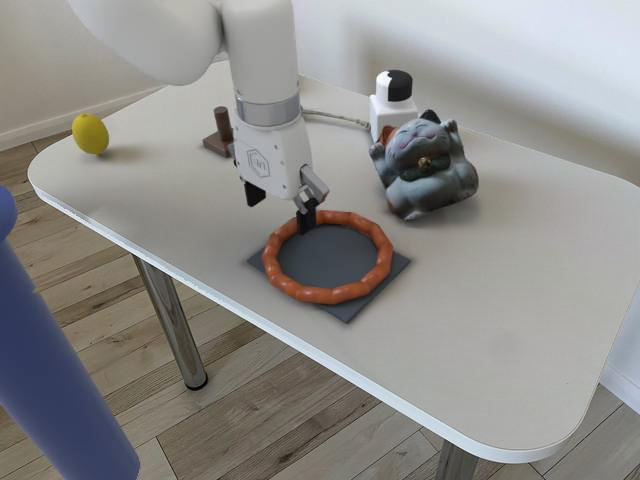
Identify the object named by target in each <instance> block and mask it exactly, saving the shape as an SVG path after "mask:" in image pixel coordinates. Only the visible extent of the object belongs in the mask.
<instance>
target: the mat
mask: <svg viewBox="0 0 640 480" xmlns="http://www.w3.org/2000/svg"><path fill="white" fill-rule="evenodd" d="M265 247H266V245H264V246H263V247H262V248H261V249H259V250H258V251H257V252H255V253H254V254H252V255H251V256H250V257H248V258H247V259H246V263H247V264H248V265H250V266H253V267H254V268H255V269H257V270H259V271H260V272H262V273H263V274H264V275H267V273H266V270H265V268H264V265H263V263H262V255H263V253H264V250H265ZM377 255H378V249H377V247H376V245H375V244H374V242H373V241H372V239H371V238H370V237H367V236H365V235H363V234H361V233H359V232H357V231H355V230H353V229H352V228H349V227H347V226H346V225H336V224H320V225H316V226H315V227H314V228H312V229H311V230H309V231H308V232H307V233H305V234H304V235H303V236H301V235H299V234H298V232H296V233H295V234H294V235H292V236H291V237H290V238H288V239H287V240H286V241H285V242H283V243H282V246H281V249H280V251H279V254H278V257H277V260H278V263H279V265H280V267H281V270H282V272H283V274H284V275H286V276H288V277H289V278H291V279H293V280H294V281H296V282H298V283H299V284H301V285H303V286H309V287H319V288H329V289H333V288H337V287H340V286H343V285H347V284H350V283H354V282H357V281H360V280H361V279H362V278H363V277H364V276H365V275H366V274H367V273H368V272H369V271H371V270H372V269H373V268H374V267H375V266H376V261H377ZM409 264H411V259H410V258H408V257H406V256H404V255H402V254H400V253H398V252H396V251H395V250H393V254H392V261H391V268H390V273H389V274H388V275H387V276H386V277H385V278H384V279H383V280H382V281H381V282H380V283H379V284H378V285H377V286H376V287H375V288H374V289H373V290H372V291H371V292H370V293H369V294H367V295H364V296H361V297H358V298H354V299H351V300H348V301H345V302H341V303H338V304H334V305H331V304H321V303H313V304H314V305H316V306H317V307H319V308H320V309H322V310H324V311H325V312H327V313H328V314H331V316H334V317H335V318H337V319H339V320H340V321H342V322H343V323H345V324H348V323H349V322H350V321H351V320H352V319H353V318H355V317H356V316H357V315H358V314H359V313H360V312H361V310H363V309H364V308H365V307H366V306H367V305H368V304H369V303H370V302H371V301H372V300H373V299H374V298H375V297H376V296H378V294H379V293H380V292H382V291H383V289H385V288H386V287H387V285H388V284H389V283H391V282H392V280H394V278H396V277H397V276H398V275H399V274H400V273H401V272H402V271H403V270H404V269H405V268H406V267H407V266H408V265H409Z"/></svg>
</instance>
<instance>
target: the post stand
mask: <svg viewBox="0 0 640 480" xmlns="http://www.w3.org/2000/svg"><path fill="white" fill-rule="evenodd" d="M213 115H214V120H215V124H216V129H217V131H215V132H213V133H212V134H209V135H208V136H206V137H204V138H202V140H201V141H202V145H203V147H204V148H205V149H208V150H209V151H212V152H213V153H215V154H217V155H219V156H222V158H223V157H224V158H226V159H227V158H229V157H230V156H231V154H230V152H229V150H228V147H227V146H228V145H229V144H231V143H233V142H234V135H233V126H232V125H231V119H230V113H229V108H228V107H227V106H224V105H222V106H221V105H219V106H217V107H216V106H215V108H213ZM231 157H232V156H231Z"/></svg>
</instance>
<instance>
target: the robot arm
mask: <svg viewBox="0 0 640 480" xmlns="http://www.w3.org/2000/svg"><path fill="white" fill-rule="evenodd" d="M66 2H67V3H68V5H69V6H70V8H71V9H72V11H73V13H74V14H75V15H76V17H77V18H78V19H79V21H80V22H81V23H82V24H83V26H85V28H86V29H87V30H88V31H89V32H90V33H91V34H92V35H93V36H94V37H95V38H96V39H98V40H99V41H100V42H101V43H102V44H103V45H104V46H106V47H107V48H109V49H110V50H111V51H112V52H114V53H115V54H116V55H118V57H121V59H123V60H124V61H125V62H126V63H128V64H129V65H131V66H132V67H133V68H135V69H137V70H138V71H139V72H140V73H142V74H144V75H145V76H147V77H149V78H151V79H153V80H154V81H156V82H159V83H162V84H164V85H166V86H167V85H168V86H172V87H185V86H188V85H189V86H190V85H191V84H193V83H195V82H197V81H199V80H200V79H201V78H202V77H203V76H204V75H205V74H206V73H207V71H208V69H209V68H210V67H211V64H212V63H213V61H214V59H215V58H216V56H218V55H219V54H221V53H224V52H225V53H226V54H227V55H228V62H229V69H230V73H231V81H232V86H233V87H232V88H233V93H234V100H235V106H236V107H235V109H234V112H233V122H232V123H233V124H232V128H233V135H234V142H233V143H231V144H229V145H228V146H227V147H228V150H229V152H230V154H231V158H232V159H233V161H232V162H233V165H234V166H235V168H236V169H237V172H238V174H239V179H240V181H241V182H242V183H244V184H243V187H244V194H245V200H246V205H247V207H249V208H254V207H255V206H257V205H258V204H259V203H261V202H262V201H264V200H265V199H266V198H267V193H268V194H271V195H273V196H275V197H277V198H279V199H281V200H284V201H293V203H294V204H295V206H296V208H297V210H296V211H295V217H296V220H297V231H298V234H299V235H301V236H303V235H304V234H305V233H307V232H308V231H309V230H311V229H312V228H314V227H315V226H316V223H317V221H316V211H317V207H318V206H320V205H321V204H323V203H324V202H325V201H326V199H327V197H328V195H329V194H330V188H329V186H328V185H326V182H324V181H323V180H322V179H321V178H320V177H319V176H318V175H317V174H316V173H315V172H314V168H313V167H314V166H313V157H312V156H313V155H312V150H311V144H310V139H309V138H310V137H309V132H308V129H307V125H306V122H305V118H304V116H303V115H302V113H301V106H302V105H301V95H300V94H301V93H300V92H301V91H300V80H299V79H300V78H299V67H298V55H297V53H298V52H297V41H296V39H297V38H296V27H295V14H294V13H295V12H294V5H293V3H292V1H291V0H66ZM300 105H301V106H300ZM302 192H304V194H305V195H306V197H307V200H306V201H304V199H303V198H302V196H301V195H300V194H301V193H302Z"/></svg>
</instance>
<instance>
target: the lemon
mask: <svg viewBox="0 0 640 480" xmlns="http://www.w3.org/2000/svg"><path fill="white" fill-rule="evenodd" d="M71 133H72V137H73V140H74V142H75V144H76V146H77V147H78V148H79V149H80V150H81V151H83V152H84V153H86V154H89V155H96V156H100V155H101V154H102V153H104V151H106V149H107V148H108V146H109V144H110V135H109V134H110V133H109V130H108V129H107V127H106V125H105V123H104V122H103V121H102V119H100V117H98V116H97V115H95V114H92V113H85V112H82V113H80V115H78V116H76V117H75V118H74V120H73V122H72V124H71Z"/></svg>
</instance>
